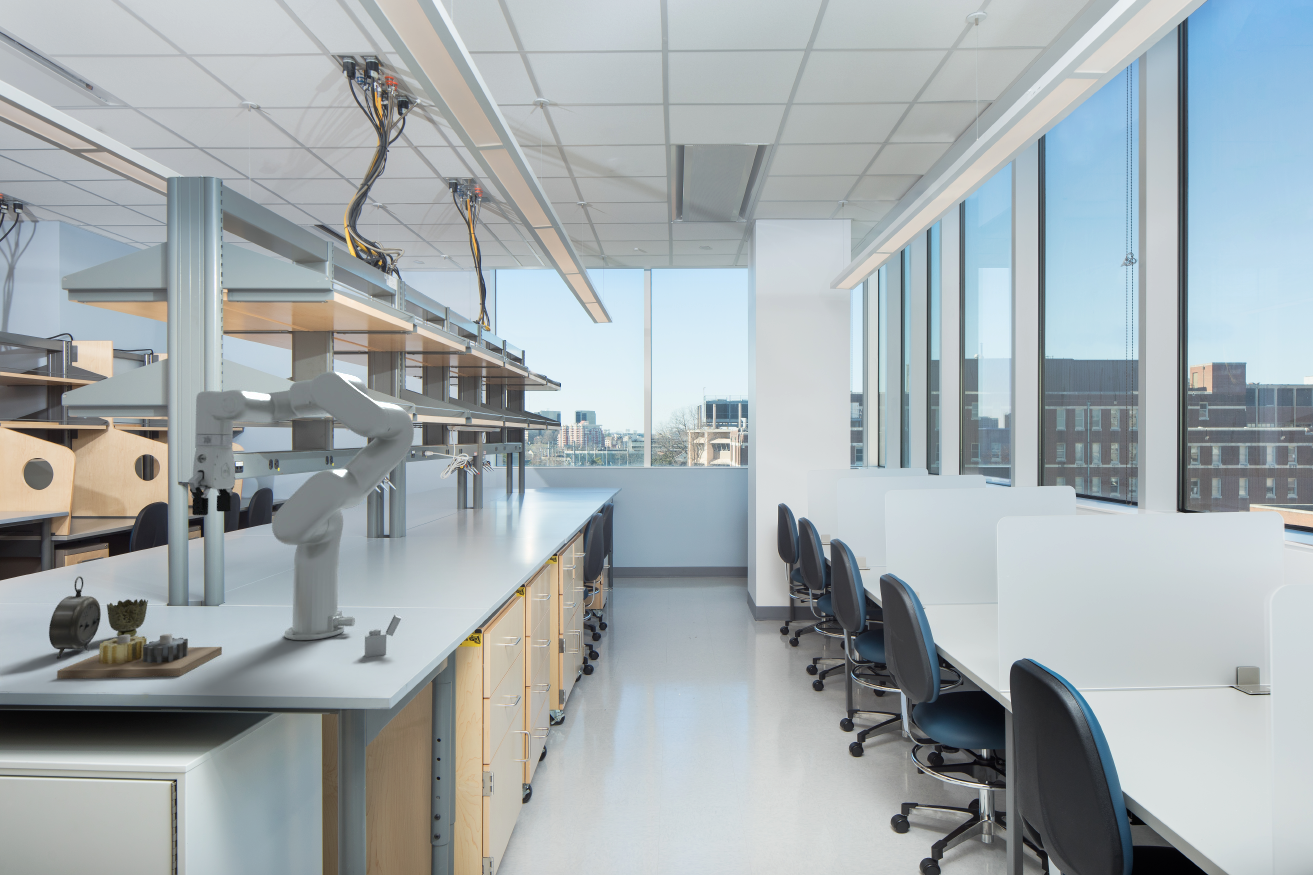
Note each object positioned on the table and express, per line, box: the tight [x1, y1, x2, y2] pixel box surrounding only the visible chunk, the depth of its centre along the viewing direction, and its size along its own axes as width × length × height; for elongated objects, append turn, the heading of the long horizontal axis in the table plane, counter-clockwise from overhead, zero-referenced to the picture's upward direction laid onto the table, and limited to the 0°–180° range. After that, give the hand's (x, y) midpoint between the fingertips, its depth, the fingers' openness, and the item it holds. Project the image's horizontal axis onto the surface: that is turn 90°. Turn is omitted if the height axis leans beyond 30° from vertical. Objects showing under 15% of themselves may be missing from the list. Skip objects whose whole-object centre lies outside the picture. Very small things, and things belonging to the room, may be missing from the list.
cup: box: [106, 598, 149, 637], centre depth 153 cm, size 8×7×8 cm
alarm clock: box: [48, 575, 101, 660], centre depth 141 cm, size 11×5×16 cm, turn 16°
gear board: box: [56, 633, 223, 680], centre depth 132 cm, size 22×14×6 cm, turn 95°
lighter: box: [364, 614, 402, 658], centre depth 141 cm, size 7×2×8 cm, turn 118°
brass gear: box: [98, 635, 147, 664], centre depth 132 cm, size 7×7×4 cm
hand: (212, 513), depth 159 cm, fingers open, 9 cm apart
